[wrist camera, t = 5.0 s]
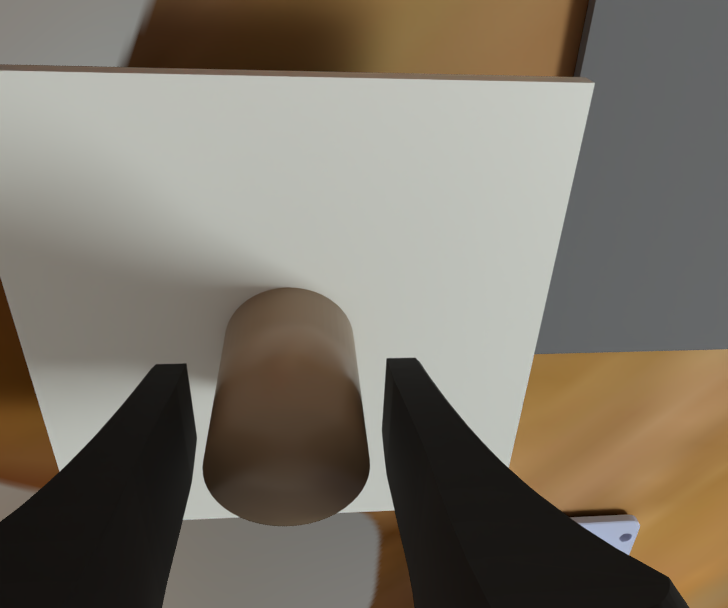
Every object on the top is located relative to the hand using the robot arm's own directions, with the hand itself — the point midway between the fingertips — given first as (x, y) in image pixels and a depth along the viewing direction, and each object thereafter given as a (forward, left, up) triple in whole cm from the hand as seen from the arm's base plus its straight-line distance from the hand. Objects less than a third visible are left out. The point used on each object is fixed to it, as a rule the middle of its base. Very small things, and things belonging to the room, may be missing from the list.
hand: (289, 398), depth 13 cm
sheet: (0, 0, -2) cm, 2 cm away
